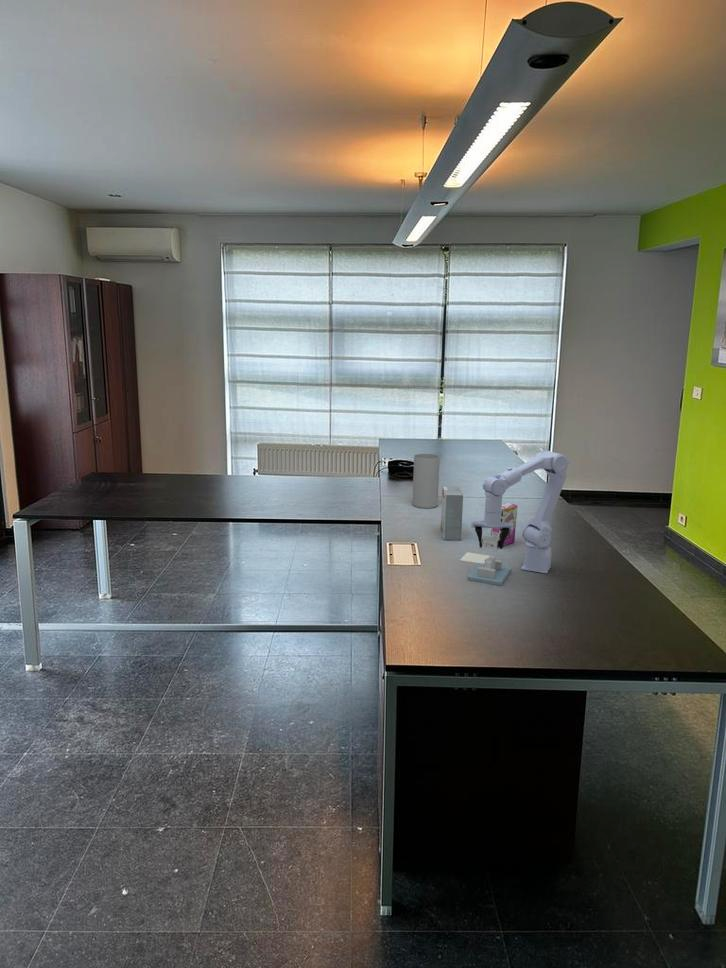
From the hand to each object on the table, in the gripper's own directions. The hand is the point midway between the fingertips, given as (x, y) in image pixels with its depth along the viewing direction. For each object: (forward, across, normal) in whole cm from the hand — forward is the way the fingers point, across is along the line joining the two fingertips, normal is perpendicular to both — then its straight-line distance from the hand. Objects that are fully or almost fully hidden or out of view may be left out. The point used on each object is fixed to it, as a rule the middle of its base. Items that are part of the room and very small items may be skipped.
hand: (490, 547), depth 242 cm
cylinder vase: (+11, +27, -92) cm, 97 cm away
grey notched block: (0, 0, 0) cm, 0 cm away
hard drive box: (+11, +14, -45) cm, 49 cm away
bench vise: (+10, 0, +1) cm, 10 cm away
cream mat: (+10, +4, -16) cm, 20 cm away
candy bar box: (+11, -8, -37) cm, 39 cm away
